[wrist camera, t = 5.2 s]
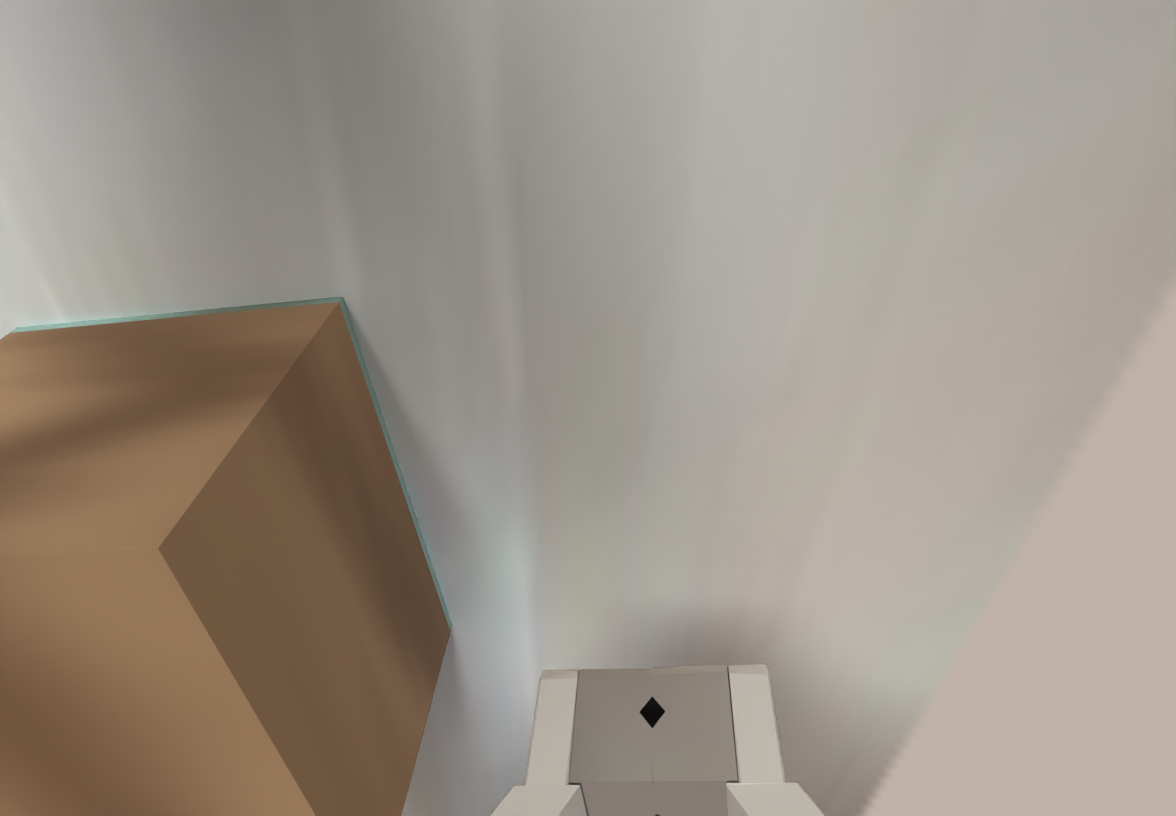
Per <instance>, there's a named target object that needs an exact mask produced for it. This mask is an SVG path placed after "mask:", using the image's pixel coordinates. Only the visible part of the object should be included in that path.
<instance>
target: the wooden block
mask: <svg viewBox="0 0 1176 816" xmlns="http://www.w3.org/2000/svg"><path fill="white" fill-rule="evenodd" d="M451 626H452V623H451V620H450V617H449V614H448V611H447V608H446V605H445V602H444V599H443V596H442V593H441V590H440V587H439V584H438V581H437V578H436V575H435V572H434V569H433V566H432V563H431V560H430V557H429V554H428V551H427V548H426V545H425V542H424V539H423V536H422V533H421V530H420V527H419V524H418V521H417V518H416V515H415V512H414V509H413V506H412V503H411V500H410V497H409V494H408V491H407V488H406V485H405V482H404V479H403V476H402V473H401V470H400V467H399V464H398V461H397V458H396V455H395V452H394V449H393V446H392V443H391V440H390V437H389V434H388V431H387V428H386V425H385V422H384V419H383V416H382V413H381V410H380V407H379V404H378V401H377V398H376V395H375V392H374V389H373V386H372V383H371V380H370V377H369V374H368V371H367V368H366V365H365V362H364V359H363V356H362V353H361V350H360V347H359V344H358V341H357V338H356V335H355V332H354V329H353V326H352V323H351V320H350V317H349V314H348V311H347V308H346V305H345V302H344V299H343V297H335V298H325V299H314V300H304V301H293V302H283V303H272V304H261V305H251V306H240V307H230V308H219V309H209V310H198V311H187V312H177V313H166V314H156V315H145V316H135V317H124V318H113V319H103V320H92V321H82V322H71V323H61V324H50V325H40V326H29V327H18V328H16V329H15V330H13V331H12V332H10V333H9V334H8V335H6V336H5V337H3V338H2V339H1V340H0V816H401V814H402V810H403V807H404V803H405V799H406V795H407V792H408V788H409V784H410V780H411V777H412V773H413V769H414V765H415V762H416V758H417V754H418V750H419V746H420V743H421V739H422V735H423V731H424V728H425V724H426V720H427V716H428V713H429V709H430V705H431V701H432V698H433V694H434V690H435V686H436V683H437V679H438V675H439V671H440V668H441V664H442V660H443V656H444V653H445V649H446V645H447V641H448V638H449V634H450V630H451Z"/></svg>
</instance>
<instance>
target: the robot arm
mask: <svg viewBox="0 0 1176 816" xmlns="http://www.w3.org/2000/svg"><path fill="white" fill-rule="evenodd" d="M490 816H825V814H824V813H823V812H822V811H821V810H820V808H819V807H818V806H817V805H816V804H815V802H814V801H813V800H812V799H811V798H810V796H809V795H808V794H807V793H806V792H805V790H804V789H803V788H802V787H801V786H800V784H799V783H798V782H786V780H785V773H784V766H783V760H782V753H781V747H780V740H779V733H778V727H777V720H776V714H775V707H774V700H773V694H772V687H771V680H770V674H769V670H768V668H767V666H766V664H748V665H728V667H727V665H726V664H720V665H698V666H676V667H654V668H653V669H572V670H544V671H543V673H542V676H541V678H540V681H539V686H538V693H537V700H536V707H535V714H534V721H533V728H532V736H531V743H530V750H529V757H528V764H527V771H526V778H525V785H513V787H512V788H511V789H510V791H509V792H508V793H507V794H506V796H505V797H504V798H503V799H502V801H501V802H500V803H499V804H498V806H497V807H496V808H495V809H494V811H493V812H492V813H491V814H490Z"/></svg>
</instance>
